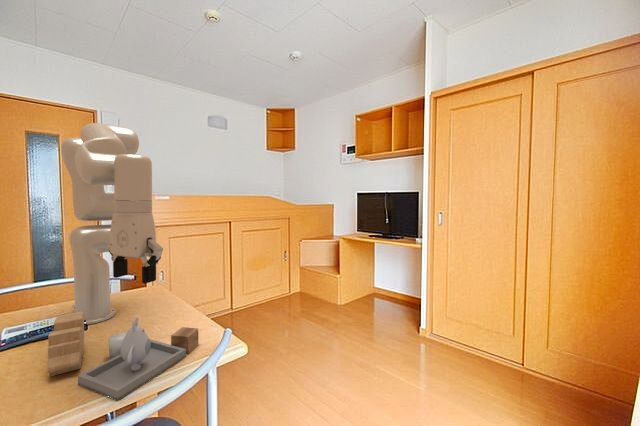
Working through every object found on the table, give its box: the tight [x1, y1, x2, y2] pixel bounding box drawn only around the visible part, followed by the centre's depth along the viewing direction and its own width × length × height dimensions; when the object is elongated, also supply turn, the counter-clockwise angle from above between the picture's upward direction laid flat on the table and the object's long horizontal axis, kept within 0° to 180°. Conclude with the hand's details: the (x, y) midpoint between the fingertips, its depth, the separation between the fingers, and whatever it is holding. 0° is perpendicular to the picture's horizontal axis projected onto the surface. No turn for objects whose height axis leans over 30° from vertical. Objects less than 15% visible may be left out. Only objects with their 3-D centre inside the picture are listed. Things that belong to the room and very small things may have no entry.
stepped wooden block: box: [46, 311, 85, 377], centre depth 74 cm, size 6×17×10 cm, turn 36°
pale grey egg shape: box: [108, 331, 128, 360], centre depth 78 cm, size 5×5×5 cm
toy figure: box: [121, 316, 151, 371], centre depth 71 cm, size 11×6×12 cm, turn 17°
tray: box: [77, 338, 187, 402], centre depth 71 cm, size 13×18×2 cm
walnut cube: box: [170, 326, 199, 355], centre depth 82 cm, size 5×5×5 cm
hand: (134, 279), depth 70 cm, fingers open, 9 cm apart
